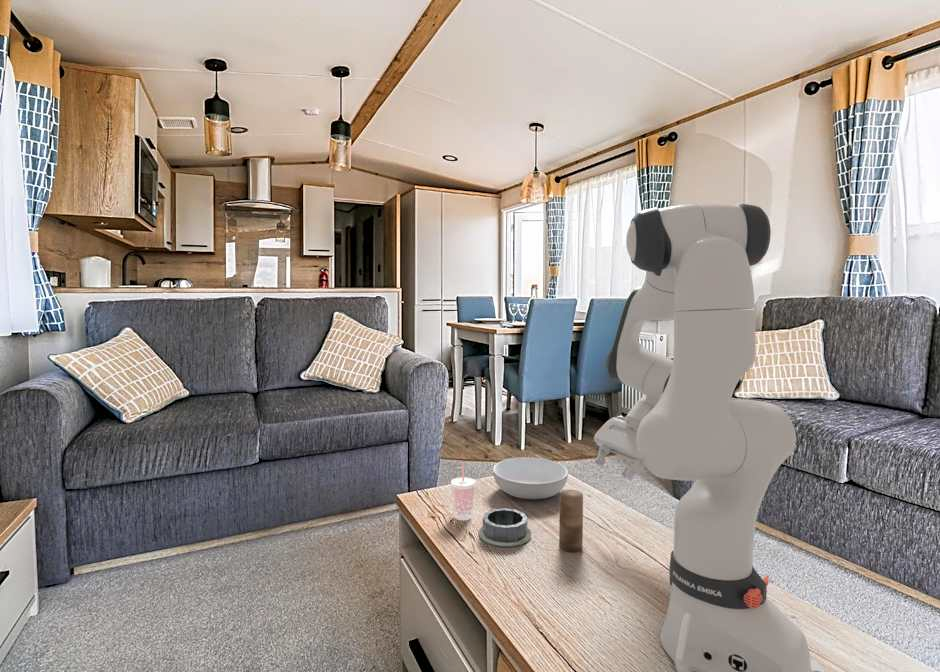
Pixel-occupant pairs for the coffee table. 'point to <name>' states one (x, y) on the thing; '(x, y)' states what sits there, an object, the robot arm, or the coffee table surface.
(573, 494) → the brown rounded cylinder
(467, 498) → the beverage cup
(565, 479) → the serving bowl
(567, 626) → the coffee table surface
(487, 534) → the cup holder
